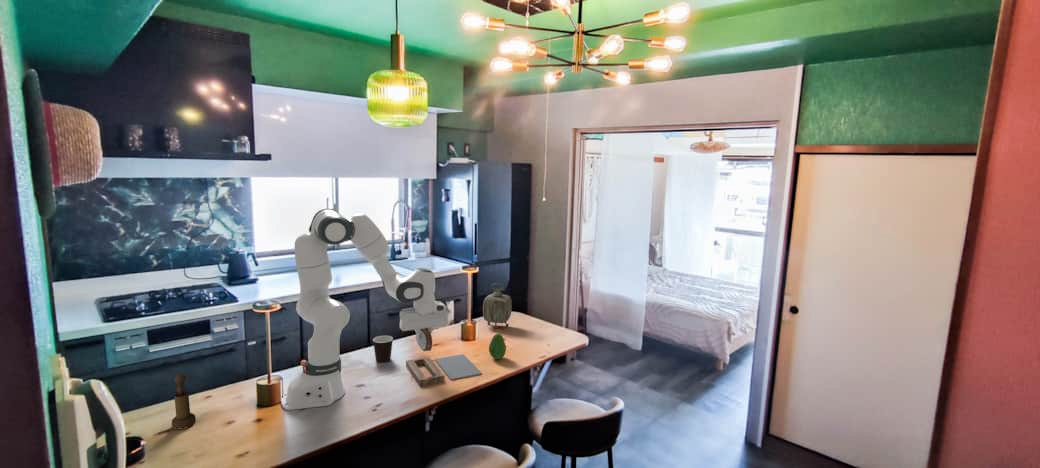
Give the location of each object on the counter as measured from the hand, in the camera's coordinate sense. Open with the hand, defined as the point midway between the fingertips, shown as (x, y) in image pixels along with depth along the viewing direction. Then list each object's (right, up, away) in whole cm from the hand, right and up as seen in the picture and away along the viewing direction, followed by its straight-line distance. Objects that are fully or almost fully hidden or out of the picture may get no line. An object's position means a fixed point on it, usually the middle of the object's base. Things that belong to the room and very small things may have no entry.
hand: (423, 337), depth 203 cm
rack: (0, -16, +3) cm, 16 cm away
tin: (-1, -4, 0) cm, 4 cm away
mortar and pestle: (-73, -21, -41) cm, 86 cm away
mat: (+13, -15, +10) cm, 22 cm away
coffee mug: (-21, -13, +16) cm, 30 cm away
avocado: (+30, -14, +20) cm, 39 cm away
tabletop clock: (+28, -8, +61) cm, 68 cm away
